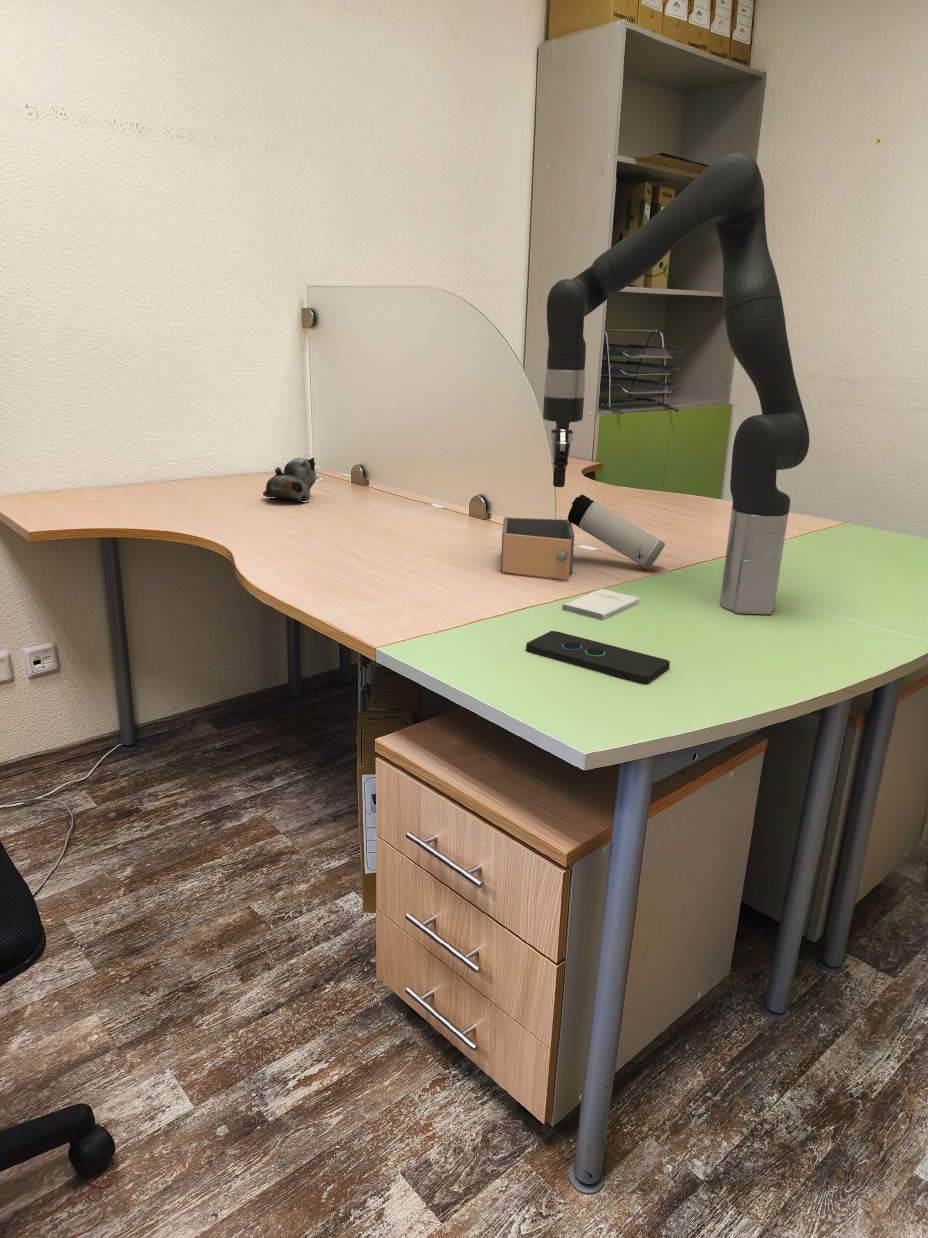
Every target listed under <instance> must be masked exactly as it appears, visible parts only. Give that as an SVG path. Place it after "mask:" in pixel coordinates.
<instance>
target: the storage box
mask: <svg viewBox="0 0 928 1238" xmlns="http://www.w3.org/2000/svg"><path fill="white" fill-rule="evenodd" d="M502 522H503V523H502V531H501V556H500V557H501V559H500V560H501V562H500V563H501V564H500V573H503V572H502V567H503V540H504V534H505V533H507V534H517V535H527V536H537V537H547V538H558V539H568V540H572V541H571V556H570V572H569V576H572V574H573V563H574V562H573V560H574V546H575V533H574V528H573V523H571V522H569V521H568V519H563V518H559V519H557V518H556V519H554V518H532V517H531V518H530V517H528V518H527V517H503V521H502ZM506 573H507V574H508V572H506Z"/></svg>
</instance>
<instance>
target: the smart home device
mask: <svg viewBox="0 0 928 1238" xmlns="http://www.w3.org/2000/svg"><path fill="white" fill-rule="evenodd" d="M525 645H526V646H525V651H526V652H527V653H531V654H534V655H538V656H541V657H544V658H548V659H552V660H556V661H559V662H561V663H562V662H563V663H565V664H569V665H572V666H576V667H579V668H584V669H587V670H590V671H593V672H598V673H601V674H605V675H608V676H611V677H615V678H619V679H622V680H625V681H630V682H633V683H637V684H640V685H641V684H642V685H646V686H647V685H650V684H651V683H652V682H653V681H655V680H656V679H658V677H660V676H662V675H663V674H664V673H665V672H667V671H669V669H670V666H671V665H670V664H671V661H670V660H668V659H665V658H662V657H657V656H654V655H649V654H645V653H642V652H639V651H634V650H631V649H627V648H623V647H618V646H617V645H611V644H608V643H604V642H600V641H595V640H592V639H588V638H584V637H581V636H576V635H574V634H573V635H572V634H569V633H564V632H560V631H556V630H550V631H548V632H546V633H544V634H542V635H540V636H538V637H536V638H534V639H532V640H530V641H527V642H526V644H525Z"/></svg>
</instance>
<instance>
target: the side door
mask: <svg viewBox="0 0 928 1238" xmlns="http://www.w3.org/2000/svg"><path fill="white" fill-rule="evenodd" d="M571 541H572V540H568V539H558V538H547V537H537V536H527V535H517V534H507V533H505V534H504V540H503V567H502V572H501V573H507V572H508V573H510V574H516V575H517V574H519V575H524V576H525V575H526V576H535V577H536V576H537V577H543V578H544V577H545V578H552V579H553V578H554V579H563V580H569V579H570V575H569V572H570V556H571ZM508 573H507V574H508Z"/></svg>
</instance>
